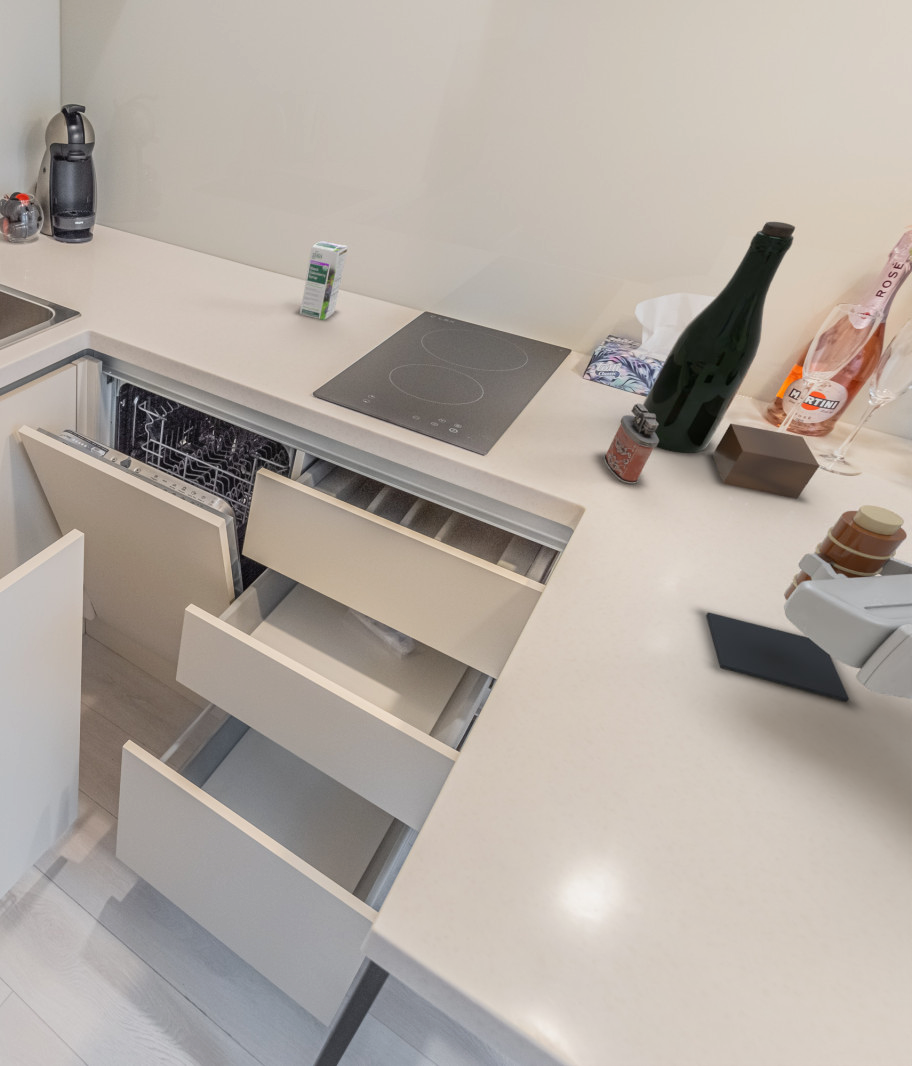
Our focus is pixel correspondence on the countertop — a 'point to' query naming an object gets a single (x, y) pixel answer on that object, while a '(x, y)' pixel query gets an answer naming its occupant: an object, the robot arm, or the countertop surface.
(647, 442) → the lighter
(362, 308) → the countertop surface
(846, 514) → the brown ringed jar
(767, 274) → the dark green wine bottle
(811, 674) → the rubber mat
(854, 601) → the robot arm
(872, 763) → the countertop surface
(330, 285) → the syrup box
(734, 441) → the shelf
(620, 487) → the countertop surface
